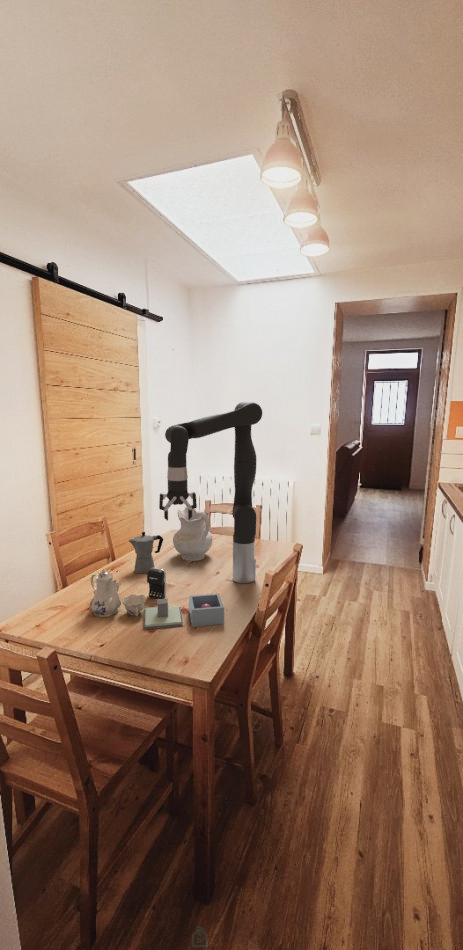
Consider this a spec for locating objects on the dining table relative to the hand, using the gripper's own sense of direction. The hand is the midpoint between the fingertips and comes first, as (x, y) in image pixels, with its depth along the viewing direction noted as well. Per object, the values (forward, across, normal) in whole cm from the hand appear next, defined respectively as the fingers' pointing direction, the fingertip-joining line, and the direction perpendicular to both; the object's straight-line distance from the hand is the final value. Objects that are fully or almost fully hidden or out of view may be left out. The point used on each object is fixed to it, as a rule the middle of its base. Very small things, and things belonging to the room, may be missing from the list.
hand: (178, 519), depth 161 cm
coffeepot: (+30, +13, -26) cm, 42 cm away
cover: (+29, +7, +20) cm, 36 cm away
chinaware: (+30, +25, +9) cm, 40 cm away
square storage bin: (+30, -8, +22) cm, 38 cm away
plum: (+27, -8, +22) cm, 36 cm away
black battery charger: (+30, +9, +3) cm, 32 cm away
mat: (+30, +7, +20) cm, 37 cm away
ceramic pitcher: (+30, -10, -38) cm, 50 cm away
